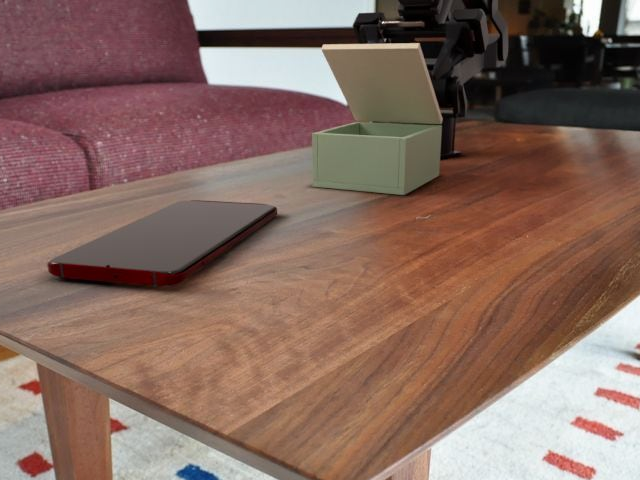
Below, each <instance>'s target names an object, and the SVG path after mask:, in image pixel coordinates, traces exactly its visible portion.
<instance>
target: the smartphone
mask: <svg viewBox="0 0 640 480" xmlns="http://www.w3.org/2000/svg"><path fill="white" fill-rule="evenodd" d="M277 216H278V207H276V206H275V205H272V204H267V203H257V202H256V203H255V202H254V203H253V202H239V201H237V202H236V201H219V200H218V201H217V200H200V199H199V200H198V199H197V200H196V199H189V200H179V201H176V202H174V203H172V204H170V205H168V206H166V207H162V208H161V209H158V210H157V211H154V212H152V213H150V214H148V215H146V216H143V217H140V218H139V219H137V220H134V221H132V222H130V223H128V224H126V225H123V226H122V227H119V228H117V229H114V230H113V231H110V232H108V233H106V234H104V235H101V236H99V237H97V238H95V239H93V240H91V241H88V242H86V243H84V244H81V245H79V246H77V247H75V248H73V249H71V250H68V251H66V252H65V253H62V254H60V255H58V256H55V257H54V258H52V259H50V260H49V261H48V262H47V264H46V266H47V271H48V273H49V274H50V275H52V276H55V277H58V278H63V279H73V280H74V279H75V280H83V281H84V280H85V281H93V282H94V281H96V282H107V283H115V284H116V283H117V284H125V285H126V284H127V285H138V286H149V287H165V286H167V287H168V286H174V285H175V286H176V285H178V284H180V283H182V282H183V281H185V280H187V279H188V278H189V277H191V276H192V275H193V274H196V272H198V271H200V270H201V269H203V268H204V267H205V266H206V265H208V264H209V263H211V262H213V261H214V260H215V259H216V258H218V257H219V256H221V255H222V254H224V253H225V252H227V251H228V250H229V249H231V248H232V247H234V246H235V245H236V244H238V243H240V242H241V241H243V240H244V239H246V238H247V237H248V236H249V235H251V234H252V233H253V232H255V231H256V230H258V229H260V228H261V227H263V226H264V225H266V224H267V223H268V222H269V221H271V220H273V219H274V218H275V217H277Z"/></svg>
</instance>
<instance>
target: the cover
mask: <svg viewBox="0 0 640 480" xmlns="http://www.w3.org/2000/svg"><path fill="white" fill-rule="evenodd" d="M321 52H322V54H323V56H324V58H325V61H326V62H327V64H328V66H329V68H330V71H331V72H332V75H333V77H334V79H335V81H336V83H337V85H338V87H339V89H340V91H341V93H342V95H343V97H344V99H345V101H346V104H347V105H348V108H349V109H350V110H349V111H350V112H351V114H352V116H353V118H354V120H355V122H375V123H399V124H414V123H423V124H442V121H443V118H442V115H441V112H440V110H441V108H439V105H438V102H437V99H436V96H435V92H434V89H433V86H432V82H431V79H430V76H429V73H428V69H427V66H426V63H425V60H424V59H425V57H424V53H423V50H422V47H421V42H409V43H408V42H407V43H403V42H402V43H391V44H359V43H336V44H334V43H331V44H330V43H329V44H328V43H327V44H326V43H325V44H322V46H321Z"/></svg>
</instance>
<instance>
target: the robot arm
mask: <svg viewBox="0 0 640 480" xmlns="http://www.w3.org/2000/svg"><path fill="white" fill-rule="evenodd" d="M397 1H398V3H399V5H398V6H397V7H398V8H397V13H398V16H399V17H402V20H397V21H396V20H395V21H394V20H392V21H390V20H389V21H387V19H386V16H385V12H382V11H381V12H380V11H379V12H359V13H358V14H357V15H356V17H355V19H354V21H353V23H352V28H353V31H354V33H355V36H356V38H357V41H358V44H392V39H393V40H394V39H409V43H442V42H443V44H442V47H441V49H440V52H439V54H438V56H437V58H424V60H425V63H426V66H427V69H428V73H429V76H430V79H431V82H432V86H433V89H434V92H435V96H436V99H437V102H438V105H439V109H440V112H441V115H442V118H443V121H442V124H423V123H413V124H419V125H441V126H442V133H441V151H440V159H443V158H448V157H455V156H460V155H462V151H459V150H455V144H456V143H455V142H456V141H455V140H456V129H457V128H456V127H457V126H456V125H457V119H460V118H466V117H467V111H468V99H467V94H466V90H465V86H464V84H466V83H467V82H468V81H470V79H472V78H473V77H474V76H475V75H477V74H478V73H479V72H480V71H481V70H489V69H498V68H501V67H502V65H503V64H504V62H506V60H507V58H508V54H509V26H508V23H507V22H506V19H505V18H504V17H503V15H502V13H501V11H500V10H499V0H460V1H461V2H462V4H463V8H460V9H457V8H456V9H454V10H453V12H452V13H451V7H452V5H453V2H454V0H397ZM487 17H489V20H490V21H491V23H492V25H493V27H494V28H495V29H496V31H497V33H489V29H488V23H487ZM451 18H452V19H453V20H454V21H451ZM448 109H452V110H448Z"/></svg>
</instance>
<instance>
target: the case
mask: <svg viewBox="0 0 640 480" xmlns="http://www.w3.org/2000/svg"><path fill="white" fill-rule="evenodd" d="M441 133H442V126H441V125H419V124H414V123H397V122H374V121H354V122H351V123H346V124H343V125H339V126H335V127H331V128H327V129H323V130H320V131H316V132H312V133H311V156H312V158H311V159H312V161H311V162H312V166H311V167H312V188H322V189H323V188H324V189H333V190H343V191H344V190H345V191H355V192H365V193H375V194H376V193H377V194H385V195H386V194H388V195H398V196H405V195H407V194H409V193H411V192H413V191H414V190H416V189H418V188H420V187H422V186H423V185H425V184H427V183H429V182H430V181H433V180H435V179H436V178H437V177H439V176H440V166H441V158H440V151H441Z"/></svg>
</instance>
